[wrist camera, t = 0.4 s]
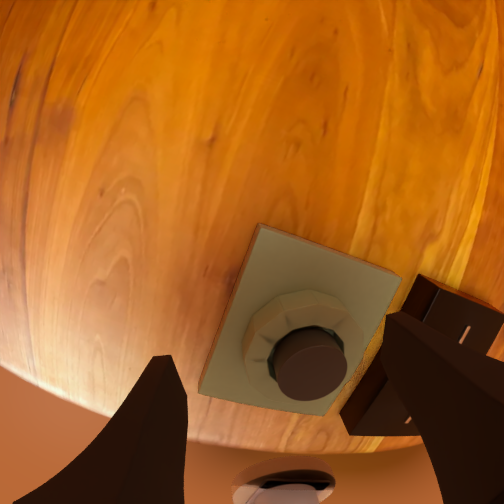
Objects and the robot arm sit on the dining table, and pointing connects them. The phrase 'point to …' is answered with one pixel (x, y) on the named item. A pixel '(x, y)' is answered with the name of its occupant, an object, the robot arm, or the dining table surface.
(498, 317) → the lock plate
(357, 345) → the doorbell
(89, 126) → the dining table surface
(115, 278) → the dining table surface
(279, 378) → the bell button
